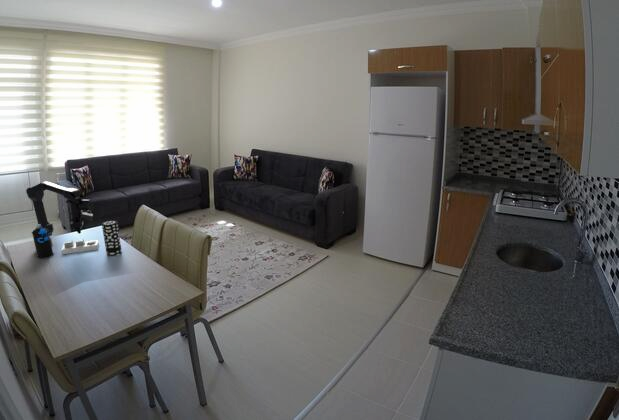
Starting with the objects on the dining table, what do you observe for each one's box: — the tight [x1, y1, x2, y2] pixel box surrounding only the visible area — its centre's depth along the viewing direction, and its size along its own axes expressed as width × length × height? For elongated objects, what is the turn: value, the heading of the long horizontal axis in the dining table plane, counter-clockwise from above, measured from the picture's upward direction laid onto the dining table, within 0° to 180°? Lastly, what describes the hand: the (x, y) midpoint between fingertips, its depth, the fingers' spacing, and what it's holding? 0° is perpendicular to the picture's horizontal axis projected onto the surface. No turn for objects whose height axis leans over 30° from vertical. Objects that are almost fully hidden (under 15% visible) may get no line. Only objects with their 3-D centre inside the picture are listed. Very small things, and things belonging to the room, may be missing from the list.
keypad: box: [61, 239, 100, 255], centre depth 228 cm, size 19×9×3 cm, turn 116°
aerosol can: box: [31, 223, 55, 259], centre depth 215 cm, size 8×8×20 cm
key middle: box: [75, 238, 85, 246], centre depth 227 cm, size 4×4×3 cm
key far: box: [86, 239, 96, 245], centre depth 230 cm, size 4×4×3 cm
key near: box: [63, 240, 74, 248], centre depth 224 cm, size 4×4×3 cm
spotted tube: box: [101, 220, 123, 257], centre depth 219 cm, size 8×8×20 cm
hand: (79, 233), depth 225 cm, fingers closed
